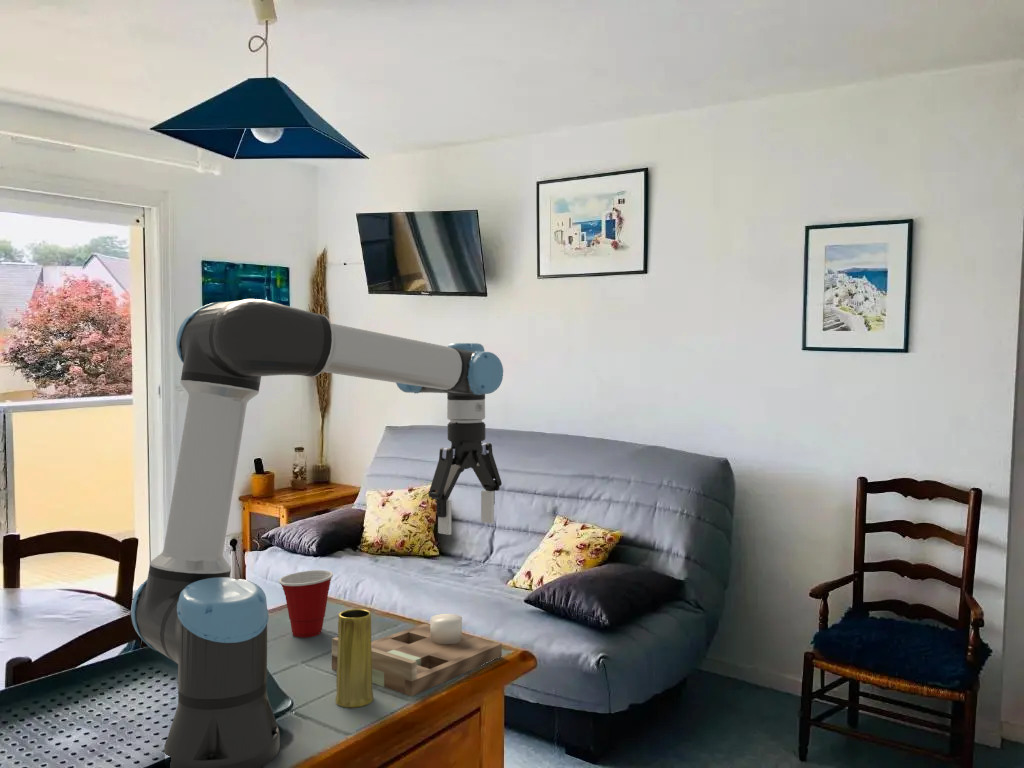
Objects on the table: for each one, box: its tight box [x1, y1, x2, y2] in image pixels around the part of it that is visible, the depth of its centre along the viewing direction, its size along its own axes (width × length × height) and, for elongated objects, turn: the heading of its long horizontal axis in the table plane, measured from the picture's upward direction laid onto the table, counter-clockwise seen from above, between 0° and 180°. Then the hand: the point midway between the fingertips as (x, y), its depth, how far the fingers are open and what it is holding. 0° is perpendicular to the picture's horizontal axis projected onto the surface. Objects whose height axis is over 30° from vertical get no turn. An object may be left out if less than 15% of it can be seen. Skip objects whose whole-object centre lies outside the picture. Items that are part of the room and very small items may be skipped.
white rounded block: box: [429, 613, 463, 644], centre depth 156 cm, size 6×6×4 cm
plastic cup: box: [278, 569, 334, 638], centre depth 166 cm, size 11×11×12 cm
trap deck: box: [331, 623, 503, 697], centre depth 150 cm, size 24×20×6 cm
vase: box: [334, 608, 375, 709], centre depth 132 cm, size 6×6×14 cm
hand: (466, 528), depth 162 cm, fingers open, 13 cm apart
